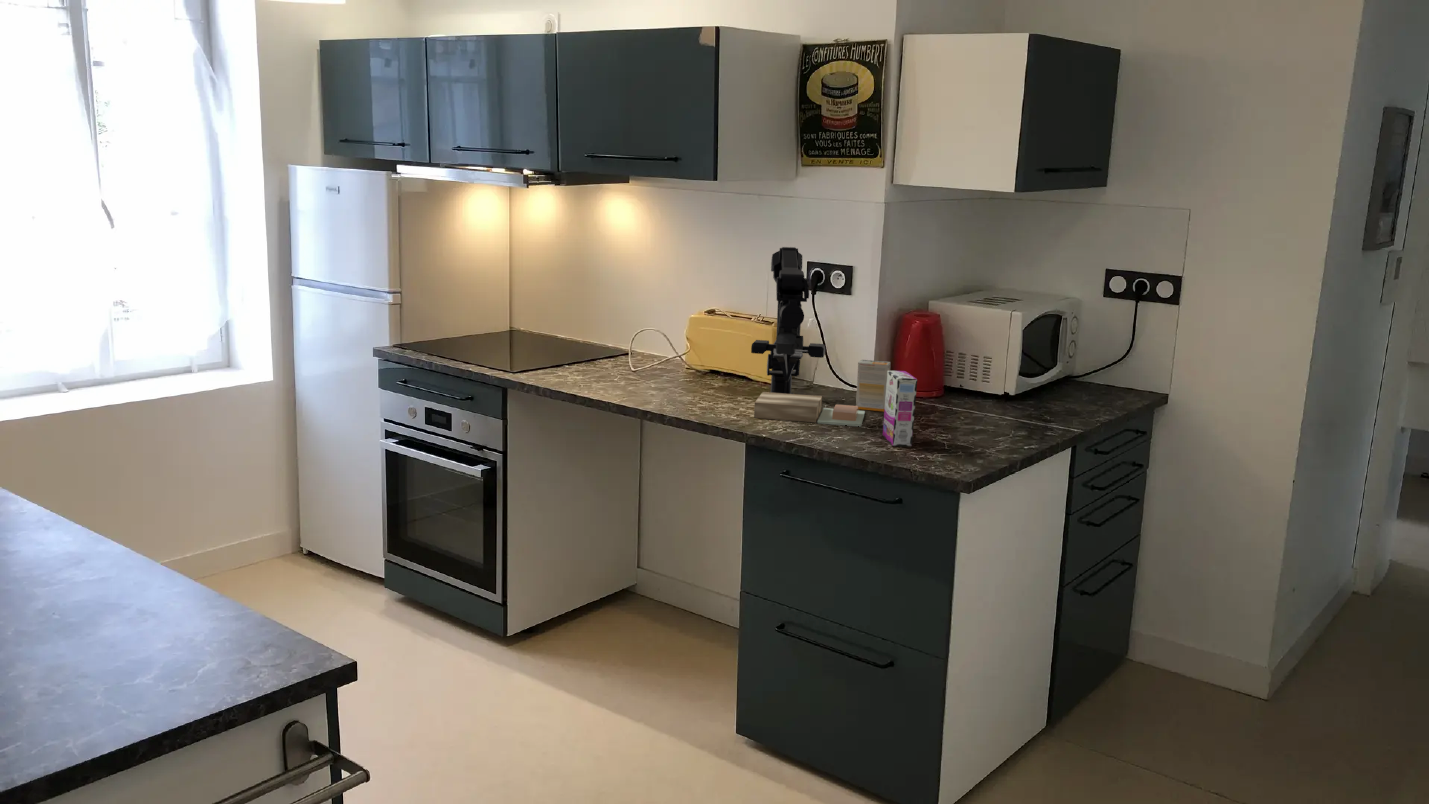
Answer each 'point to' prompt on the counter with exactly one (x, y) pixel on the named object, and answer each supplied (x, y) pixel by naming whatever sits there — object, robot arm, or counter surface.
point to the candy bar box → (899, 408)
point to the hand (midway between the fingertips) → (786, 381)
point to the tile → (845, 412)
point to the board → (788, 407)
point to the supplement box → (872, 385)
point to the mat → (827, 419)
